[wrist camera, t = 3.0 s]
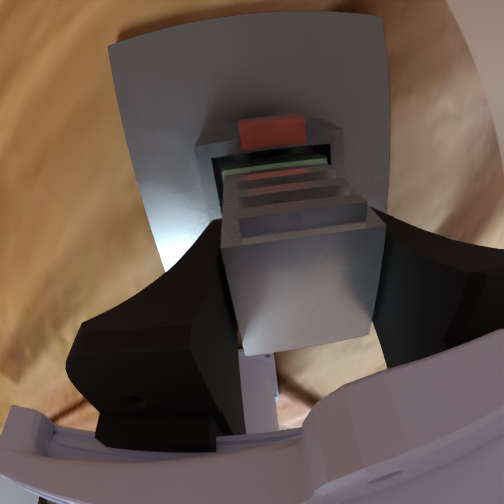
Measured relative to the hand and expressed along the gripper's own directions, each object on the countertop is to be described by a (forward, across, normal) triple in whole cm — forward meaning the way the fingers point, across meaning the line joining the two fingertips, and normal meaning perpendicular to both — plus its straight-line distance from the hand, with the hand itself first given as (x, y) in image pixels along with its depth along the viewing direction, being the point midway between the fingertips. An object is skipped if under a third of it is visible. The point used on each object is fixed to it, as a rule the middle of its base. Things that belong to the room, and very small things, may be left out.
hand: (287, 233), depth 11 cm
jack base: (+7, 0, 0) cm, 7 cm away
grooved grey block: (+3, 0, 0) cm, 3 cm away
